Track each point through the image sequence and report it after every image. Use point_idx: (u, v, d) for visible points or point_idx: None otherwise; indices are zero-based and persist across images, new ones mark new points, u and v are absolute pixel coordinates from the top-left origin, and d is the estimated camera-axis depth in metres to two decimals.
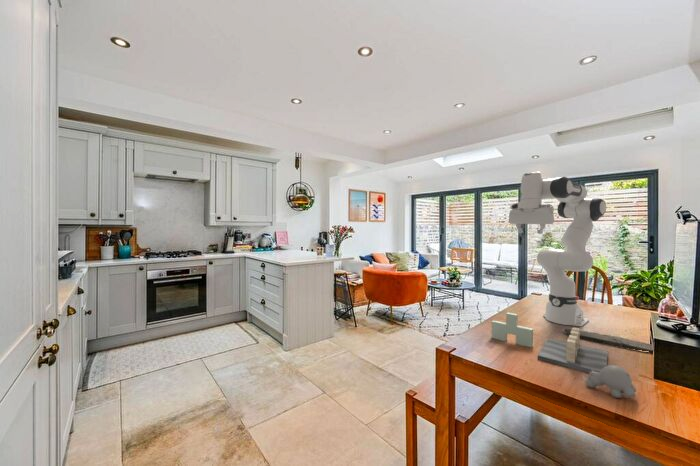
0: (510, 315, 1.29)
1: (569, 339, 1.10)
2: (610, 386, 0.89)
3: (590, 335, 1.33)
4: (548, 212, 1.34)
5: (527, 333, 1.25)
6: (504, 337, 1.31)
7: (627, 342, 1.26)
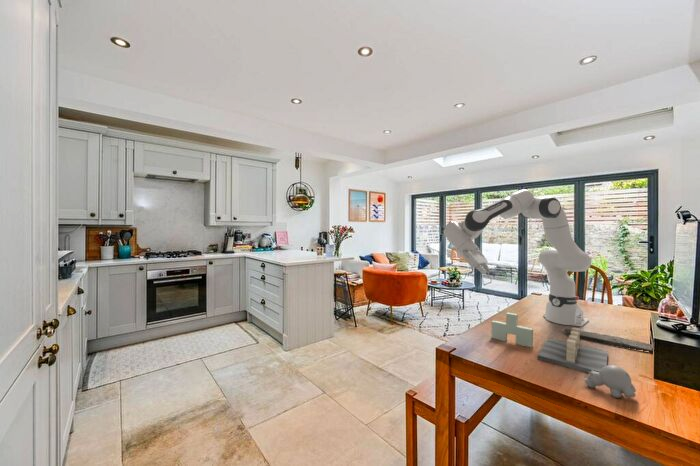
0: (510, 315, 1.29)
1: (569, 339, 1.10)
2: (610, 386, 0.89)
3: (590, 335, 1.33)
4: None
5: (527, 333, 1.25)
6: (504, 337, 1.31)
7: (627, 342, 1.26)
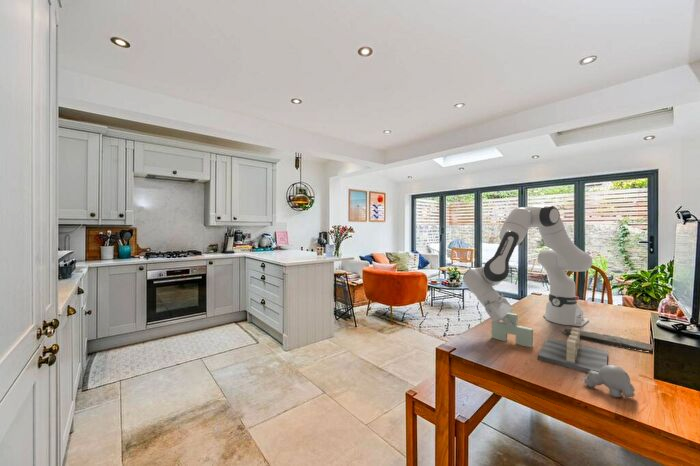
0: (510, 315, 1.29)
1: (569, 339, 1.10)
2: (609, 386, 0.89)
3: (590, 335, 1.33)
4: (487, 312, 1.28)
5: (527, 333, 1.25)
6: (504, 337, 1.31)
7: (627, 342, 1.26)
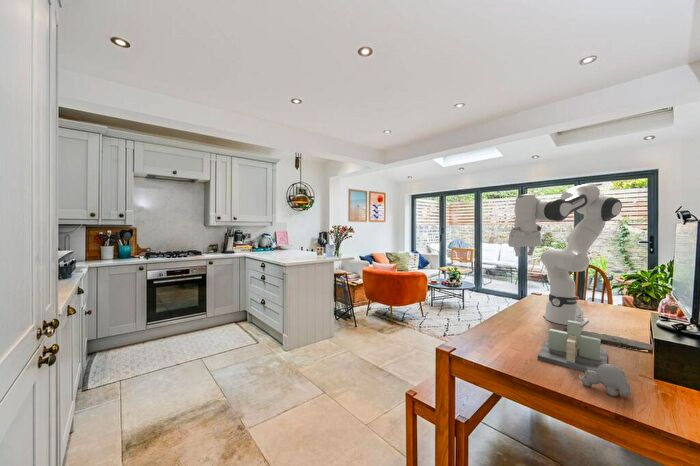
0: (572, 323, 1.14)
1: (569, 339, 1.10)
2: (606, 384, 0.89)
3: (589, 335, 1.34)
4: None
5: (594, 344, 1.10)
6: (565, 348, 1.16)
7: (626, 342, 1.26)
